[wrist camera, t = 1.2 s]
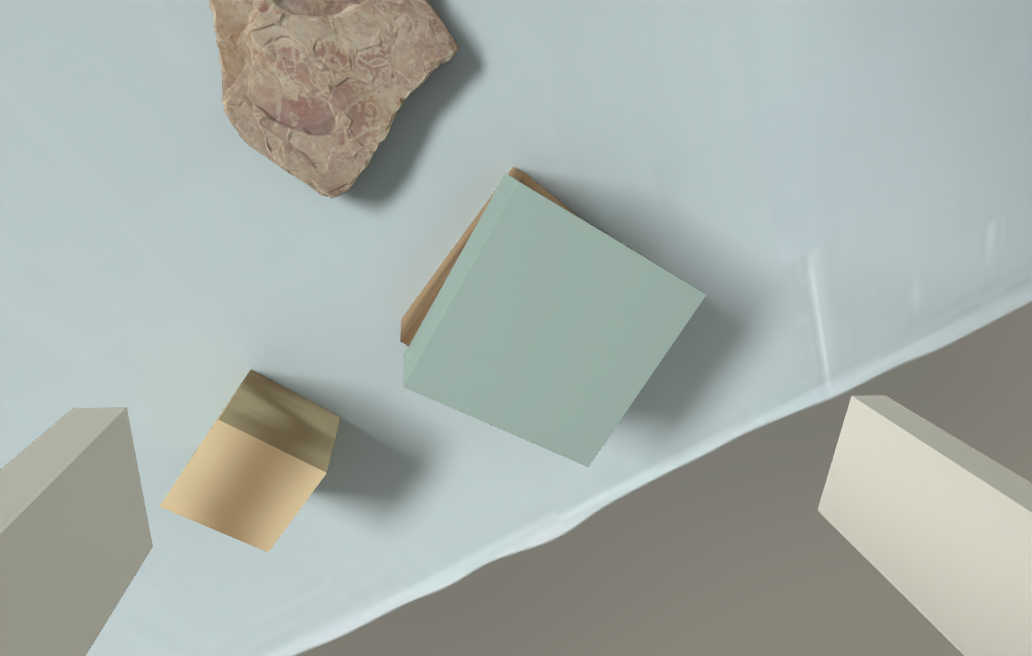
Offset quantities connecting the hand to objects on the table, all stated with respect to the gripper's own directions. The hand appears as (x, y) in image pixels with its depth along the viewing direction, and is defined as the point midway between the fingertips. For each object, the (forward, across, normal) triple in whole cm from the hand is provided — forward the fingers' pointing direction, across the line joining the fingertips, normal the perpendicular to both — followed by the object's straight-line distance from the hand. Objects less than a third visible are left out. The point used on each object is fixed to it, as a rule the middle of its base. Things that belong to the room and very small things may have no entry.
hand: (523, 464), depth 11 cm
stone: (+24, -7, +10) cm, 27 cm away
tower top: (+20, +5, -4) cm, 21 cm away
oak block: (+24, -11, -13) cm, 29 cm away
